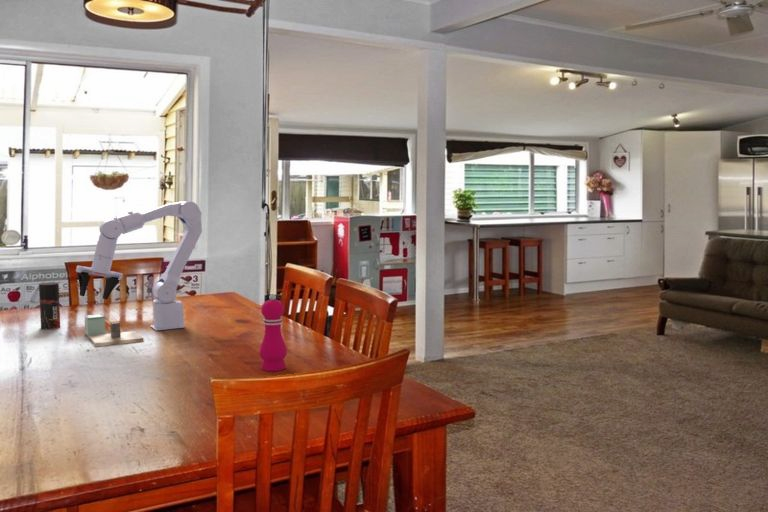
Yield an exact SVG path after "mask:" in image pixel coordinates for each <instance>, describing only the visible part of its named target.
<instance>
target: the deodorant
mask: <svg viewBox="0 0 768 512" xmlns="http://www.w3.org/2000/svg"><path fill="white" fill-rule="evenodd" d="M59 286H60V285H59V282H43V283H39V284H38V292H39V294H38V295H39V314H40V329H41V330H56V329H59V328H61V314H60V313H61V312H60V290H59Z"/></svg>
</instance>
